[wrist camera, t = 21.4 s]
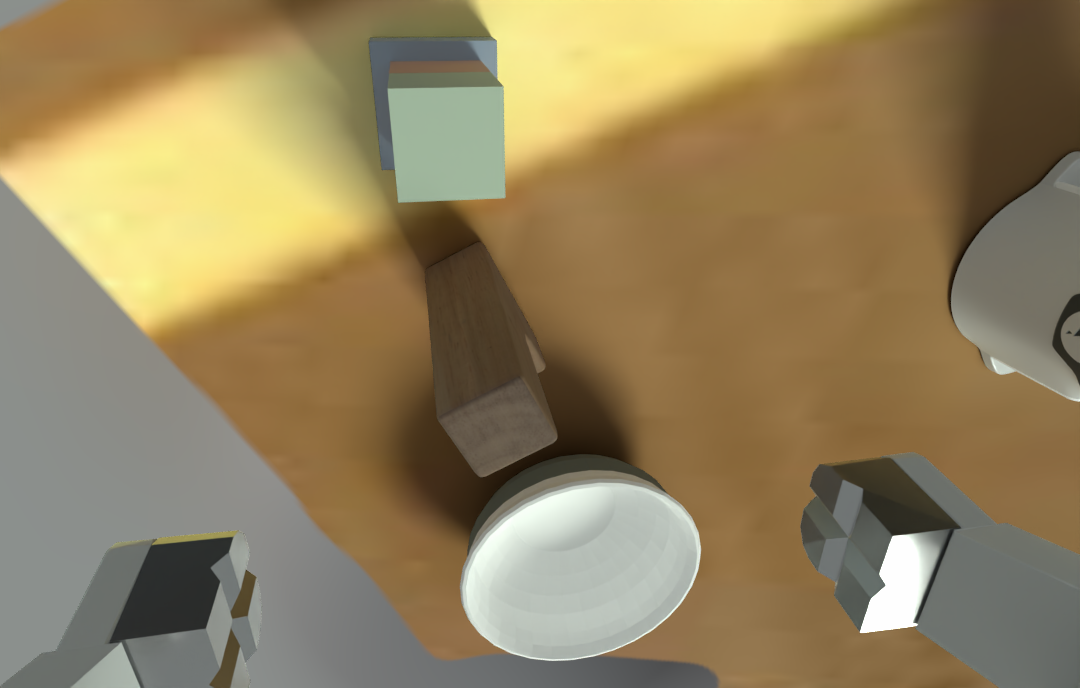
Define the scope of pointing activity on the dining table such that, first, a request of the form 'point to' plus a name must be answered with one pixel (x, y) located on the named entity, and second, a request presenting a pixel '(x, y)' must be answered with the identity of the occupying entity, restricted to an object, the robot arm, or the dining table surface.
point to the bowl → (577, 559)
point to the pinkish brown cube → (437, 66)
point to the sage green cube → (447, 135)
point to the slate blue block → (418, 51)
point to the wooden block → (485, 364)
